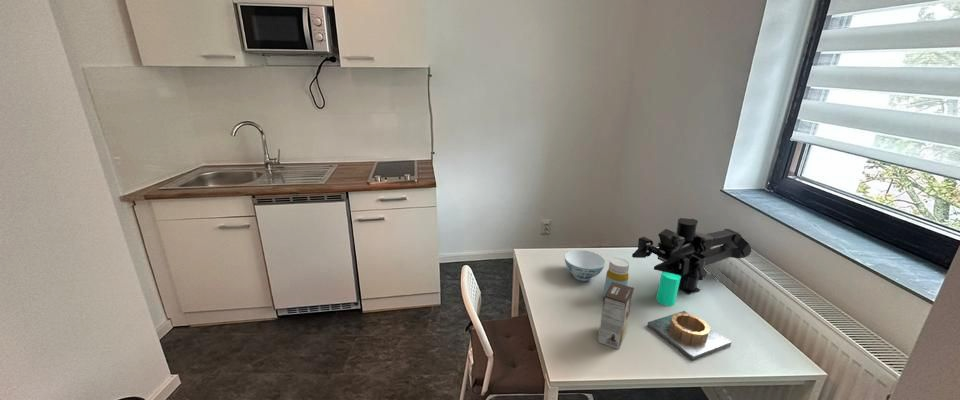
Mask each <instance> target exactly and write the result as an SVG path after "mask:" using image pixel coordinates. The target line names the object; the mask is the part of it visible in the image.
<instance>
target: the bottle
mask: <svg viewBox="0 0 960 400" xmlns="http://www.w3.org/2000/svg"><path fill="white" fill-rule="evenodd" d="M629 269H630V261H628V260H626V259H625V258H621V257H612V258H610V259H609V265H608V269H607V271H606V274H605V279H604V280H605V281H604V288H603V294H602V298H603V299H604V296H605V294H606V292H607V290H608V289H609V287H610V285H611V283H612V282H614V283H618V284H622V285H626V286H628V283H629V282H628V281H629V277H630V276H629Z"/></svg>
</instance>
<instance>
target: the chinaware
mask: <svg viewBox="0 0 960 400" xmlns="http://www.w3.org/2000/svg"><path fill="white" fill-rule="evenodd" d="M564 263H565V266H566V269H568V271H569V272H570V273H571V275H573V277H574V278H575V279H576V280H578V281H582V282H587V281H590V280H592V278H595V277H597V276H598V275H600V274H601V272H602V271H603V269H604V267H605V265H606V259H605V258H604V257H603V256H602V255H601V254H598V253H596V252H594V251H591V250H586V249H585V250H584V249H573V250H569V251H567V252H565V254H564Z"/></svg>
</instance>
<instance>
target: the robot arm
mask: <svg viewBox="0 0 960 400" xmlns="http://www.w3.org/2000/svg"><path fill="white" fill-rule="evenodd" d="M698 222H699V221H698V220H697V219H695V218H685V217H684V218H682V217H681V218H678V219H677V223H676V224H677V225H676V230H675V231H676V232H675V231H672V230H670V229H668V228H665V229H663V230H662V231H661V232H659V233H658V237H659V242H658V243H657V246H656V245H654V241H653V240H652V239H649V238H648V237H645V236H642V237H639V238H638V242H637V243H638V244H637V249H636V250H635V251H634V252H633V253H632V254H631V257H632V258H633V259H634V258H635V259H636V258H638V259H639V258H641V259H644V258H645V259H646V258H648V257H650V256H651V255H652V254H654V255H656V256H657V260H659V261H662V262H660V263H658V264H655V266H653V270H655V271H657V272H658V271H659V272H662V271H663V272H668V273H672V274H675V275H680V276H681V278H680V283H679V287H678V290H680V291H682V292H683V293H685V294H687V295H690V294H694V293H697V292H700V291H701V289H700V288H698V287H697V286H698V284H699V283H698V282H699V281H703V280H704V279H705V278H706V276H707V274H708V272H707V271H706V269H705V267H706V266H709V265H712V264H714V263H717V262H718V263H719V262H720V261H723V260H725V259H726V260H727V259H729V258H733V259H744V258H747V257H748V256H750V254H752V247H751V245H750V243H749V242H748V241H746V239H744V238H743V236H742V235H741V234H740V232H738V231H735V230H732V229H731V228H724V229H723V230H719V231H715V232H710V233H709V232H708V233H701V232H697V231H696V230H697V226H698Z"/></svg>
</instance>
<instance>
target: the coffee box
mask: <svg viewBox="0 0 960 400" xmlns="http://www.w3.org/2000/svg"><path fill="white" fill-rule="evenodd" d="M634 290H635V288H634V287H632V286H629V285H627V286H626V285H622V284H618V283H614V282H612V283H611V285H610V287H609V289H608V290H607V292H606V294H605V296H604V298H603V304H602V309H601V317H600V322H599V323H600V324H599V331H598V337H597V343H600V344H603V345H604V346H605V345H606V346H608V347H611V348H613V349H616V350H620V348H621V346H622V343H623V340H624V339H625V335H626V334H627V327H628V323H629V319H630V317H629V316H630V312H631V306H632V302H633V301H632V300H633V295H634Z"/></svg>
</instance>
